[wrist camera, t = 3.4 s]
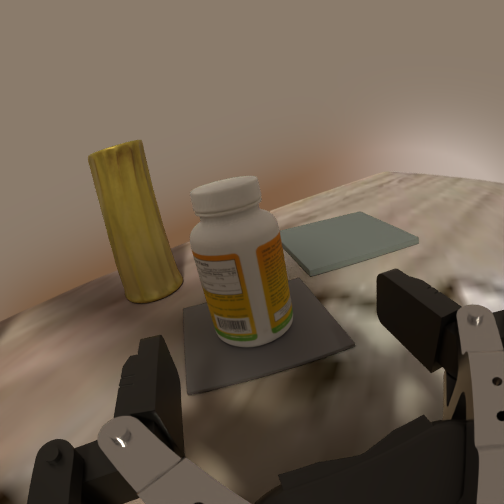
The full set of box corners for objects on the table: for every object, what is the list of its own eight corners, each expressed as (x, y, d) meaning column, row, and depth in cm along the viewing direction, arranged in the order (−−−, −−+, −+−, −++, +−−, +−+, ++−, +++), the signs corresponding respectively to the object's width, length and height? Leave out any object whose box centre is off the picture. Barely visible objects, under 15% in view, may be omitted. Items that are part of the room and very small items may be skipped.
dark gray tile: (188, 395, 16) (186, 392, 16) (183, 310, 25) (183, 308, 25) (355, 346, 17) (354, 343, 17) (299, 279, 27) (299, 277, 27)
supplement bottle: (278, 296, 24) (254, 170, 21) (306, 332, 19) (284, 176, 16) (210, 317, 23) (175, 189, 20) (224, 359, 18) (179, 202, 15)
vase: (151, 274, 34) (116, 149, 29) (195, 275, 32) (159, 134, 27) (115, 301, 29) (71, 161, 24) (159, 307, 27) (111, 144, 22)
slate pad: (310, 276, 27) (309, 270, 27) (273, 237, 38) (272, 232, 38) (418, 243, 28) (418, 237, 28) (360, 215, 39) (360, 211, 39)
